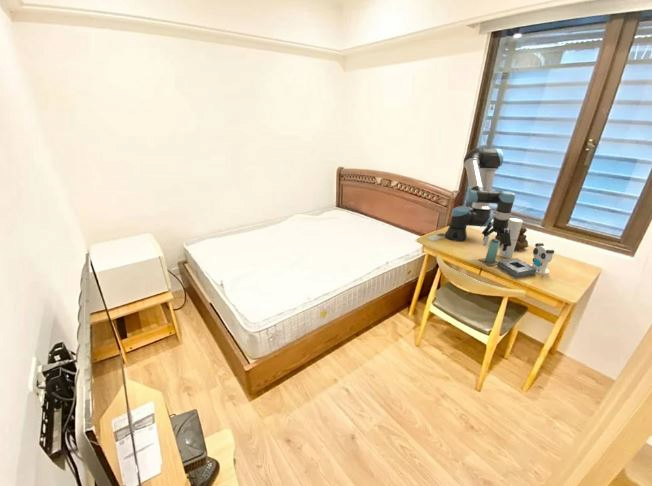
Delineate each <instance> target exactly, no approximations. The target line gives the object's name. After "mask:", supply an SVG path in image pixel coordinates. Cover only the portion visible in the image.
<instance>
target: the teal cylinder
mask: <svg viewBox="0 0 652 486" xmlns="http://www.w3.org/2000/svg"><path fill="white" fill-rule="evenodd" d="M499 244H500V241H499V240H497V239H495V238H492V239H490V242H489V244H488V248H487V252H486V256H485V258H486V259H485V261H486V262H488V263H494V262H495V260H496V258H497V254H498V251H499V247H500V245H499Z"/></svg>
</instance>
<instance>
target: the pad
mask: <svg viewBox="0 0 652 486" xmlns="http://www.w3.org/2000/svg"><path fill="white" fill-rule="evenodd" d="M485 259H486V257H484V258H478V261H480V262H481V263H482V264H484V265H486V266H487V267H495V266H497V265H498V261H497V260H496V259H495V262H494V263H488V262H486V261H485Z"/></svg>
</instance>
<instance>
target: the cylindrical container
mask: <svg viewBox="0 0 652 486" xmlns="http://www.w3.org/2000/svg"><path fill="white" fill-rule="evenodd" d="M508 220H509V223H508V227H507V229H510V239H511V246H507V249H506V251H505V253H504V255H500V256H501V257H503V258H508V259H512V258H513V255H514V252H515V250H514V249H515V245H516V242H517V239H518V235H519V232H520V229H521V227H523V226H522V225H523V219H520V218H516V217H509V219H508ZM505 244H506V243H505ZM502 245H503V244H502ZM502 245H501V246H502Z"/></svg>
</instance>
